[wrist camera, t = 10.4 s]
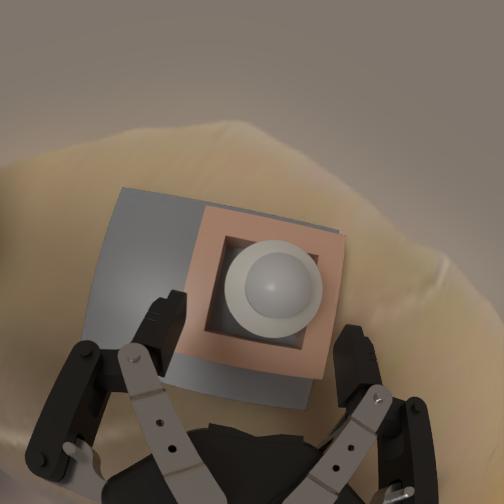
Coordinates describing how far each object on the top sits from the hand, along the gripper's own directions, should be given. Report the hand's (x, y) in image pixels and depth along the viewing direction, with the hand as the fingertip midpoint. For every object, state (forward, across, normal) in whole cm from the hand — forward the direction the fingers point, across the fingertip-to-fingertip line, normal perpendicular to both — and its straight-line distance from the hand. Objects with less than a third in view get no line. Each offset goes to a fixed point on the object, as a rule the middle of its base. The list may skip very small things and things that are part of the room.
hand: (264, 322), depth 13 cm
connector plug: (+7, 0, +5) cm, 9 cm away
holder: (+8, +4, +6) cm, 11 cm away
